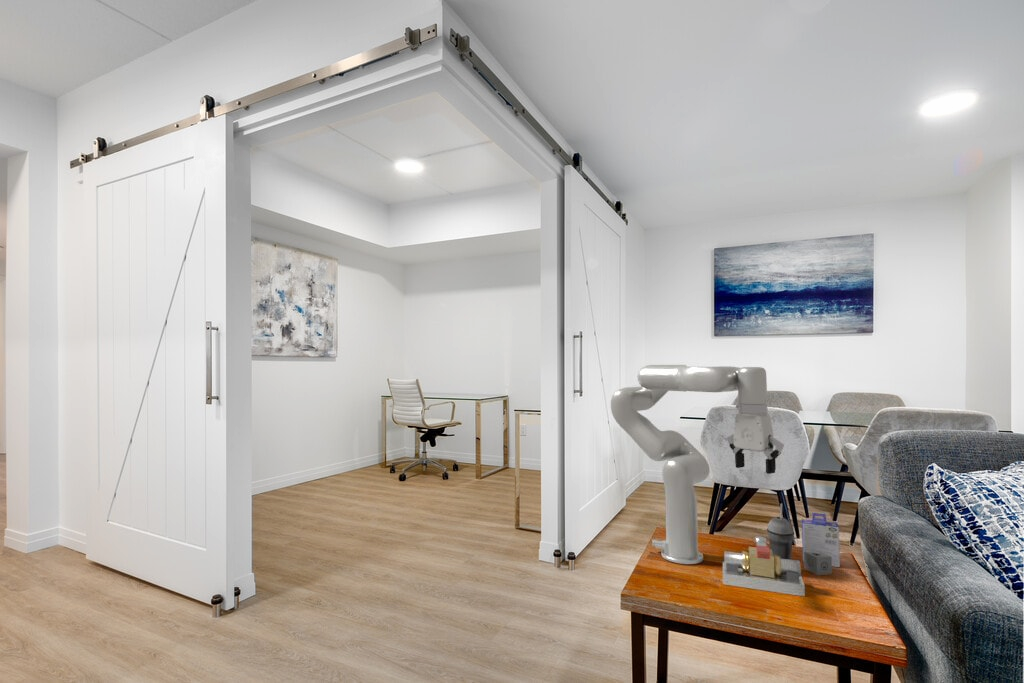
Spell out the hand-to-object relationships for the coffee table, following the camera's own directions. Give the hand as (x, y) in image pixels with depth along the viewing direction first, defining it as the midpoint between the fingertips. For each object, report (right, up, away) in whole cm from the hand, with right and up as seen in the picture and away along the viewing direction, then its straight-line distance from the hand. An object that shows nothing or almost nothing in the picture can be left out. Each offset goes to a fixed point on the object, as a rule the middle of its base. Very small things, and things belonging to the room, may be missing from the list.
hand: (754, 470), depth 147 cm
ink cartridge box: (+26, -32, +12) cm, 43 cm away
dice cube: (+21, -32, +5) cm, 38 cm away
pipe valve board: (0, -31, -3) cm, 31 cm away
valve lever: (-2, -20, -8) cm, 21 cm away
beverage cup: (+10, -31, +5) cm, 34 cm away
